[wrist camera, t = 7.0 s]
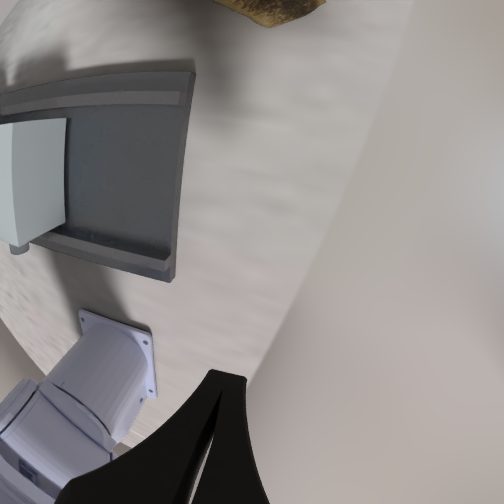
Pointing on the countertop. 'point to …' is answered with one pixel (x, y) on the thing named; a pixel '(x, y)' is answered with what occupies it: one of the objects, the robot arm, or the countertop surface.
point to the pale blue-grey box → (31, 180)
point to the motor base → (116, 164)
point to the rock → (272, 9)
